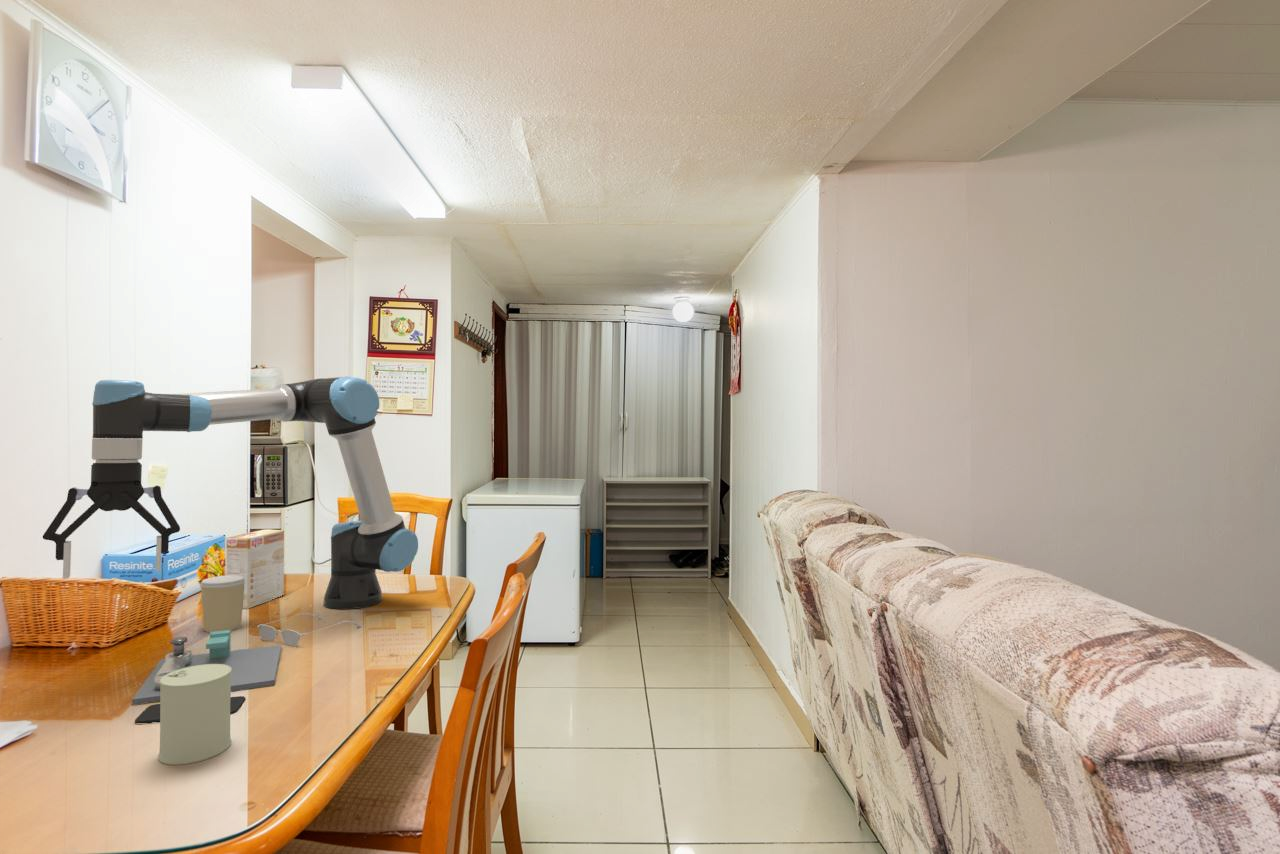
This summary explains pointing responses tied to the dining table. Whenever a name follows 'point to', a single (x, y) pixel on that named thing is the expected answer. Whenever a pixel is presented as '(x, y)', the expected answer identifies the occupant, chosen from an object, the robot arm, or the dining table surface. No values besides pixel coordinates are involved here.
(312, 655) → the dining table surface
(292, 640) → the eyeglasses
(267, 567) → the coffeecake box
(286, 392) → the robot arm
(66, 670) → the dining table surface
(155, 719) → the phone
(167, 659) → the link
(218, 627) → the coffee cup
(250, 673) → the board
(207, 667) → the can
